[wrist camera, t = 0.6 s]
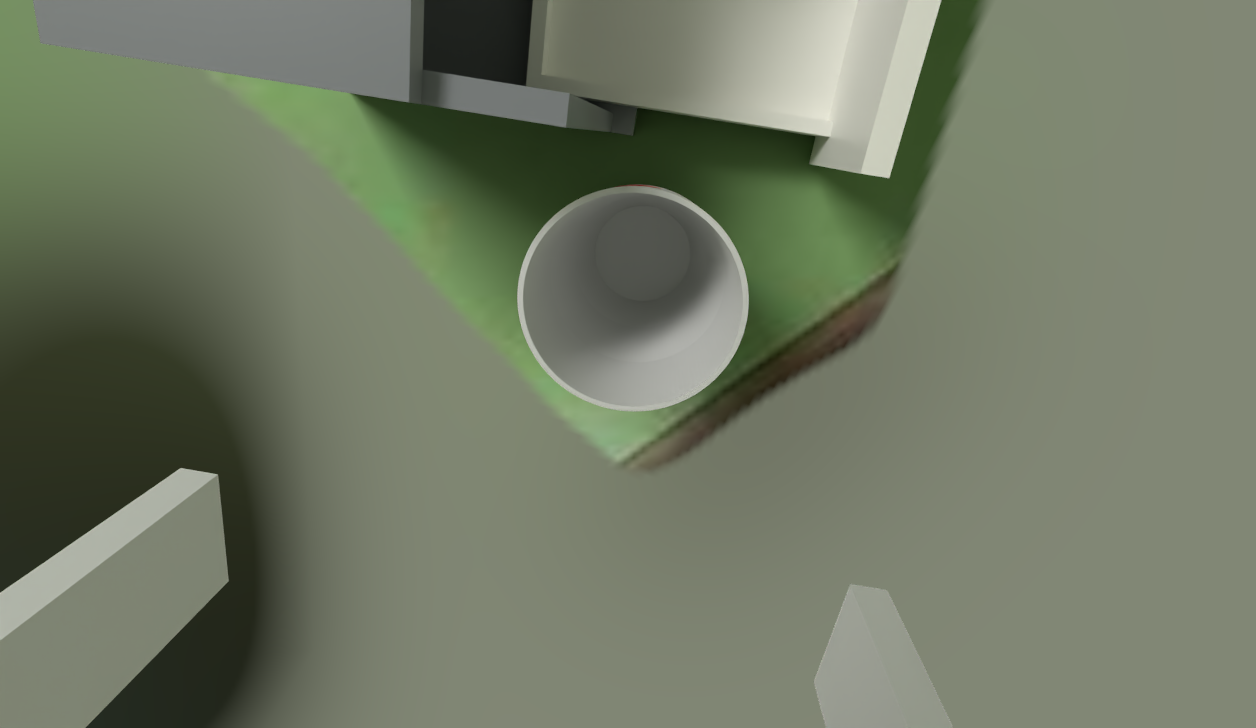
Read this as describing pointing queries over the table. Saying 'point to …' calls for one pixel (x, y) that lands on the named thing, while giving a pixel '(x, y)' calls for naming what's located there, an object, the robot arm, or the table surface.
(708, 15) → the white drawer
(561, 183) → the table surface
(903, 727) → the robot arm
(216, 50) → the housing
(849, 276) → the table surface
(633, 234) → the cup
